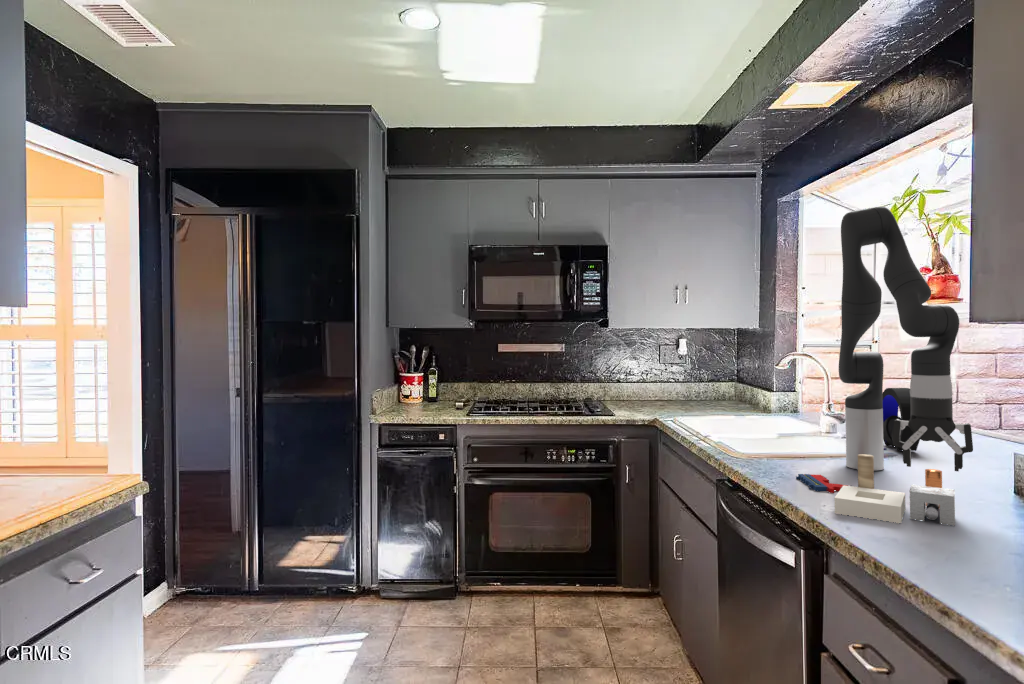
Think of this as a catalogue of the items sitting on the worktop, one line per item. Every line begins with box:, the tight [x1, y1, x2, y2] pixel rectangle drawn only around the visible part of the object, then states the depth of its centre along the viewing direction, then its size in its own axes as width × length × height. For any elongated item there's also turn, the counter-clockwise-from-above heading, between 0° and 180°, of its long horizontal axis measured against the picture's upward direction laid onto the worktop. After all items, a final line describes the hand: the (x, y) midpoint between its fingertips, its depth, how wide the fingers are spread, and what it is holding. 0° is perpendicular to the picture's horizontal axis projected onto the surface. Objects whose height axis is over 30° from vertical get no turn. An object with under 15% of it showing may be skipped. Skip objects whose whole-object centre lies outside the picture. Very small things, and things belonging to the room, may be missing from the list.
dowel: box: [857, 454, 875, 489], centre depth 136 cm, size 3×3×10 cm
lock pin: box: [924, 468, 943, 521], centre depth 122 cm, size 3×16×8 cm, turn 142°
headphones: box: [883, 387, 921, 452], centre depth 186 cm, size 18×7×20 cm, turn 167°
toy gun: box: [795, 473, 852, 494], centre depth 147 cm, size 15×2×10 cm
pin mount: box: [909, 484, 956, 527], centre depth 120 cm, size 7×6×6 cm
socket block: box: [834, 484, 906, 524], centre depth 126 cm, size 12×12×4 cm
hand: (932, 468), depth 126 cm, fingers open, 8 cm apart
